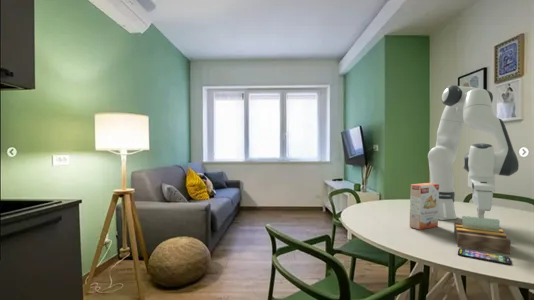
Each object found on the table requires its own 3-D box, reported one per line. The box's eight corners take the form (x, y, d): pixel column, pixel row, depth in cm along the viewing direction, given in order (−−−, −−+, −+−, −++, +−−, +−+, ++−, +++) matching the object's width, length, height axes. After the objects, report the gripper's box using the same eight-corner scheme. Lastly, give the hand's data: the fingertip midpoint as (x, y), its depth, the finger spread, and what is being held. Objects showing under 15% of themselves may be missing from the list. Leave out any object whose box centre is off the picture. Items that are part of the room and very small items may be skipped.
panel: (462, 238, 121) (462, 216, 121) (462, 237, 123) (462, 215, 122) (499, 243, 115) (499, 220, 115) (498, 241, 117) (498, 219, 116)
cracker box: (420, 230, 135) (421, 185, 134) (408, 227, 140) (409, 184, 140) (439, 226, 141) (439, 183, 141) (427, 223, 147) (427, 182, 146)
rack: (457, 246, 114) (458, 233, 114) (454, 232, 131) (454, 221, 131) (510, 254, 106) (510, 239, 106) (498, 238, 124) (499, 226, 123)
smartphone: (511, 264, 96) (457, 253, 105) (511, 267, 96) (457, 256, 105) (509, 256, 102) (458, 247, 111) (509, 259, 102) (458, 250, 111)
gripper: (468, 180, 129) (468, 211, 129) (475, 186, 111) (474, 222, 111) (486, 181, 126) (485, 213, 126) (495, 187, 108) (495, 224, 108)
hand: (480, 217), depth 118 cm, fingers closed
